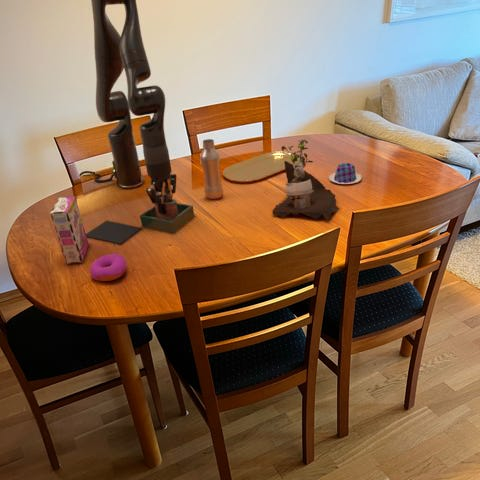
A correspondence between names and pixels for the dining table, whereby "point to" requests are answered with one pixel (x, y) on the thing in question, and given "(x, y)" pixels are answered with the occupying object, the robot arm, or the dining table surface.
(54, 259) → the dining table surface
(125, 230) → the mat
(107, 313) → the dining table surface
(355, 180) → the purple patterned hat
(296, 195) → the potted plant
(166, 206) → the lighter
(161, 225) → the frame
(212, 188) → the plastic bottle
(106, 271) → the donut
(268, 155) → the serving platter
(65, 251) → the candy bar box
